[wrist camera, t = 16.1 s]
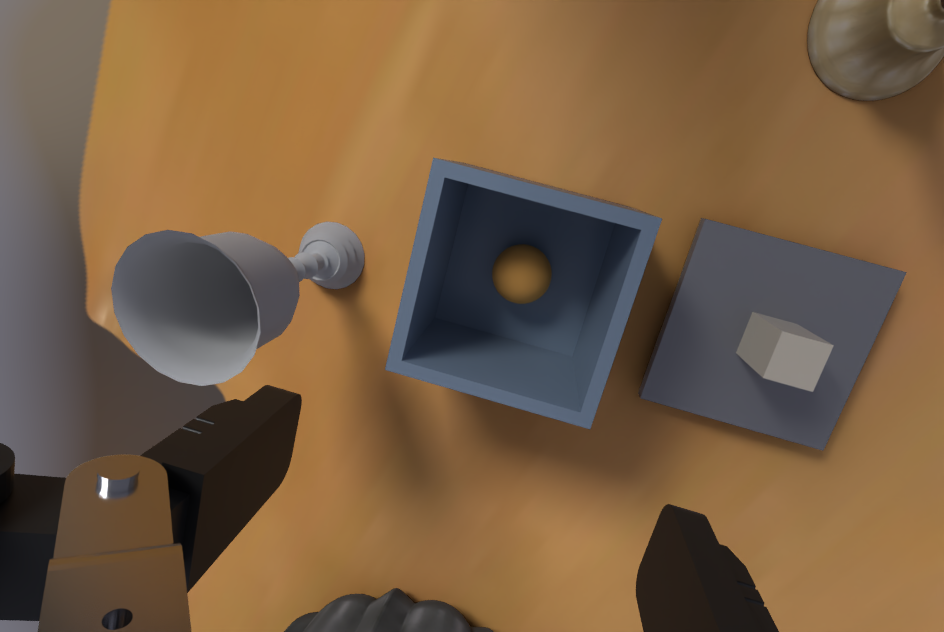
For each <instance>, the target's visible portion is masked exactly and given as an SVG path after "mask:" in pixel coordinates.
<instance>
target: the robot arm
mask: <svg viewBox="0 0 944 632" xmlns="http://www.w3.org/2000/svg"><path fill="white" fill-rule="evenodd" d="M301 403H302V399H301V395H300V394H297V393H293V392H290V391H287V390H283V389H280V388H276V387H273V386H270V385H265V386H264V387H262V388H261V389H260V390H258V391H257V392H256V393H254V394H253V395H251V396H250V397H249V398H247V399H246V400H245V401H240V400H237V399H234V400H231V401H227V402H224V403H221V404H217V405H214V406H212V407H210V408H209V409H207V410H206V411H204V412H203V413H201V414H200V415H198V416H197V417H196V419H193V420H191V421H190V422H188V423H187V424H185V425H184V426H183V428H182V429H181V428H180V429H178V430H177V431H175V432H174V433H172V434H171V435H170V436H168V437H167V438H165V439H164V440H162V441H161V442H160V443H158V444H157V445H155V446H153V447H152V448H151V449H149V450H148V451H146V452H145V453H143V454H142V455H140V456H136V455H112V456H111V455H110V456H105V457H100V458H96V459H93V460H90V461H87V462H85V463H83V464H81V465H79V466H78V467H76V468H75V469H74V470H72V471H71V472H70V473H69V475H68V476H67V478H60V477H48V476H36V475H24V474H14V467H15V455H14V452H13V451H12V450H11V449H10V448H9V447H8V446H6V445H4V444H1V443H0V620H25V621H39V626H38V632H191V624H190V614H189V605H188V596H187V593H188V592H189V591H190V589H191V588H192V587H193V586H194V585H195V584H196V582H197V581H198V580H199V579H200V578H201V577H202V575H203V574H204V573H205V572H206V571H207V570H208V568H209V567H210V566H211V565H212V564H213V563H214V562H215V560H216V559H217V558H218V557H219V556H220V555H221V553H222V552H223V551H224V550H225V549H226V548H227V546H228V545H229V544H230V543H231V542H232V541H233V539H234V538H235V537H236V536H237V535H238V534H239V532H240V531H241V530H242V529H243V528H244V527H245V526H246V524H247V523H248V522H249V521H250V520H251V519H252V517H253V516H254V515H255V514H256V513H257V512H258V510H259V509H260V508H261V507H262V506H263V505H264V503H265V502H266V501H267V500H268V499H269V498H270V496H271V495H272V494H273V493H274V492H275V491H276V490H277V488H278V487H279V486H280V484H281V483H282V481H283V479H284V477H285V475H286V473H287V471H288V468H289V465H290V462H291V457H292V452H293V447H294V442H295V436H296V431H297V426H298V420H299V415H300V410H301ZM755 587H756V586H755V584H754V582H753V580H752V578H751V576H750V574H749V572H748V570H747V568H746V566H745V565H744V564H743V563H742V562H741V561H740V560H739V559H738V558H737V557H736V556H735V555H734V554H733V553H732V551H731V550H730V549H729V548H728V547H727V546H724V545H720V544H719V543H718V540H717V538H716V536H715V534H714V532H713V530H712V528H711V526H710V523H709V521H708V519H707V517H706V516H705V515H703V514H700V513H697V512H694V511H690V510H687V509H683V508H680V507H677V506H673V505H670V504H667V505H666V506H665V507H664V508H663V509H662V511H661V513H660V515H659V518H658V520H657V523H656V526H655V528H654V531H653V533H652V536H651V538H650V541H649V543H648V546H647V548H646V551H645V553H644V556H643V559H642V561H641V564H640V566H639V570H638V574H637V580H636V598H637V603H638V608H639V612H640V617H641V622H642V626H643V631H644V632H779V631H778V629H777V627H776V625H775V623H774V621H773V619H772V617H771V615H770V613H769V611H768V609H767V607H764V602H763V600H762V598H761V596H760V594H759V592H758V590H755Z"/></svg>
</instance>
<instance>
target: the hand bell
mask: <svg viewBox="0 0 944 632" xmlns="http://www.w3.org/2000/svg"><path fill="white" fill-rule="evenodd" d="M807 44H808V53H809V57H810V61H811V64H812V66H813V68H814V70H815V72H816V74H817V75H818V77H819V78H820V79H821V81H822V82H823V83H824V84H825V85H826V86H827V87H828V88H829V89H831V90H832V91H834V92H836V93H838V94H840V95H842V96H844V97H847V98H851V99H855V100H863V101H873V100H881V99H886V98H889V97H893V96H896V95H898V94H901V93H903V92H905V91H907V90H908V89H910V88H912V87H913V86H915V85H917V84H918V83H919V82H921V81H922V80H923V79H924V78H925V77H926V76H928V75H929V74H930V73H931V72H932V70H933V69H934V68H935V67H936V66H937V65H938V63H939V62H940V61H941V59H942V58H943V56H944V0H818V2H817V4H816V6H815V8H814V11H813V14H812V16H811V19H810V23H809V27H808V38H807Z"/></svg>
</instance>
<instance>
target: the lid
mask: <svg viewBox="0 0 944 632" xmlns="http://www.w3.org/2000/svg"><path fill="white" fill-rule="evenodd" d="M906 273H907V272H903V271H899V270H896V269H892V268H888V267H884V266H881V265H877V264H873V263H869V262H866V261H862V260H858V259H854V258H851V257H847V256H843V255H839V254H836V253H832V252H828V251H824V250H820V249H817V248H813V247H809V246H805V245H802V244H798V243H794V242H790V241H787V240H783V239H779V238H775V237H772V236H768V235H764V234H760V233H757V232H753V231H749V230H745V229H742V228H738V227H734V226H730V225H727V224H723V223H719V222H715V221H712V220H708V219H704V218H701V220H700V223H699V226H698V228H697V231H696V234H695V237H694V239H693V242H692V245H691V248H690V250H689V253H688V256H687V259H686V262H685V264H684V267H683V270H682V273H681V275H680V278H679V281H678V284H677V287H676V289H675V292H674V295H673V298H672V300H671V303H670V306H669V309H668V311H667V314H666V317H665V320H664V323H663V325H662V328H661V331H660V334H659V336H658V339H657V342H656V345H655V348H654V350H653V353H652V356H651V359H650V361H649V364H648V367H647V370H646V372H645V375H644V378H643V381H642V384H641V386H640V389H639V392H638V394H639V396H640V398H641V399H645V400H648V401H652V402H655V403H659V404H662V405H666V406H669V407H673V408H676V409H680V410H683V411H687V412H690V413H694V414H697V415H701V416H704V417H708V418H711V419H715V420H718V421H722V422H725V423H728V424H732V425H735V426H739V427H742V428H746V429H749V430H753V431H756V432H760V433H763V434H767V435H770V436H774V437H777V438H781V439H784V440H788V441H791V442H795V443H798V444H802V445H805V446H809V447H812V448H816V449H819V450H824V448H825V446H826V444H827V441H828V439H829V437H830V435H831V433H832V431H833V429H834V426H835V424H836V422H837V420H838V418H839V416H840V414H841V412H842V409H843V407H844V405H845V403H846V401H847V399H848V397H849V394H850V392H851V390H852V388H853V386H854V384H855V382H856V380H857V377H858V375H859V373H860V371H861V369H862V367H863V365H864V362H865V360H866V358H867V356H868V354H869V352H870V350H871V347H872V345H873V343H874V341H875V339H876V337H877V335H878V333H879V330H880V328H881V326H882V324H883V322H884V320H885V318H886V315H887V313H888V311H889V309H890V307H891V305H892V303H893V301H894V298H895V296H896V294H897V292H898V290H899V288H900V286H901V283H902V281H903V279H904V277H905V275H906Z"/></svg>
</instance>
